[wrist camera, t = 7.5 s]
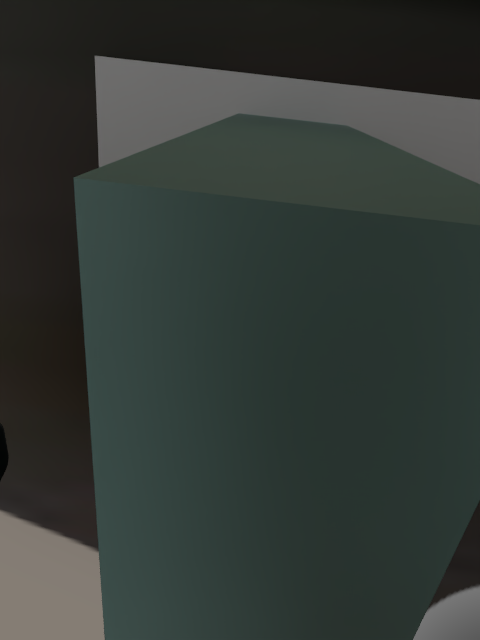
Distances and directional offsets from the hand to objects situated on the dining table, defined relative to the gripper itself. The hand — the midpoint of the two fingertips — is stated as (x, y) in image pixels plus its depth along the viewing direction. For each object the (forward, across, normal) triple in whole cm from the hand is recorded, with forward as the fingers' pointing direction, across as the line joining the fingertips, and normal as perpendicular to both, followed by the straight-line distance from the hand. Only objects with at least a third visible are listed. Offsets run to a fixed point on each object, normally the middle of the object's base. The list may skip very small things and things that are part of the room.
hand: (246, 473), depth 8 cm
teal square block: (+8, 0, 0) cm, 8 cm away
